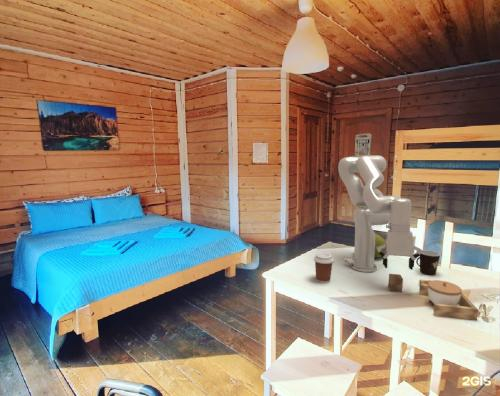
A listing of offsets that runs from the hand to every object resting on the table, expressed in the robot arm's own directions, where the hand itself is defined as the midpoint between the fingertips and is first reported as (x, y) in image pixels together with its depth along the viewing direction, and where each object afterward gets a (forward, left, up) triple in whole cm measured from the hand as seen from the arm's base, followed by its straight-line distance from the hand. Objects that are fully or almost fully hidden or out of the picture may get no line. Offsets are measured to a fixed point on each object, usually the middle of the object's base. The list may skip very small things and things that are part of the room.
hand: (397, 267), depth 122 cm
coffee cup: (-30, +4, -10) cm, 32 cm away
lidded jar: (+14, -9, -10) cm, 20 cm away
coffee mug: (+18, +23, -10) cm, 31 cm away
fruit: (-4, +41, -10) cm, 42 cm away
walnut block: (0, +1, -10) cm, 10 cm away
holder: (+15, -5, -10) cm, 19 cm away
